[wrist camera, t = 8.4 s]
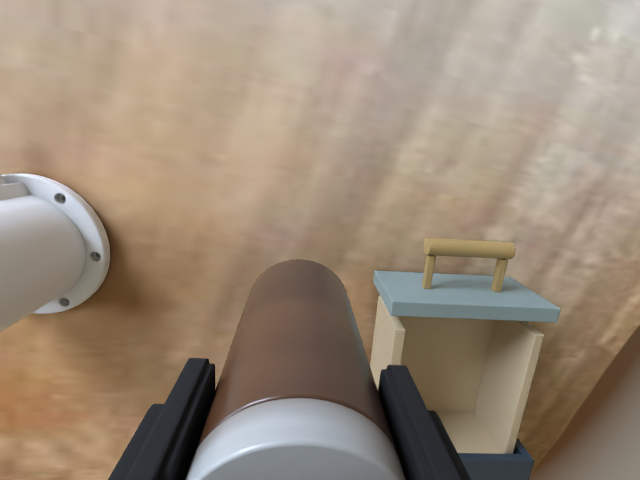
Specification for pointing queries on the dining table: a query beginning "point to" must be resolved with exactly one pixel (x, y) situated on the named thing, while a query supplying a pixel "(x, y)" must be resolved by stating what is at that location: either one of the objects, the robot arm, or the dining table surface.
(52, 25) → the dining table surface
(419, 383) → the drawer
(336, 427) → the brown lidded jar
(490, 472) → the cabinet
